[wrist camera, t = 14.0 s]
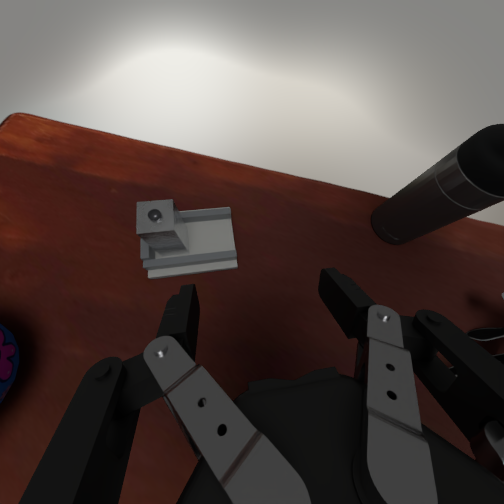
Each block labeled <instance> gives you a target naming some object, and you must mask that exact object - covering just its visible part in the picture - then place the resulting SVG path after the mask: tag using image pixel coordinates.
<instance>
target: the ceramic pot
mask: <svg viewBox="0 0 504 504" xmlns="http://www.w3.org/2000/svg"><path fill="white" fill-rule="evenodd" d="M18 365H19V348H18V345H17V343H16V341H15V338H14V336H13V334H12V333H11V332H10V331H9V330H8V329H6V328H5V327H4V326H3V325H2V324H1V323H0V404H1V402H2V401H3V399H4V397H5V395H6V394H7V392H8V390H9V389H10V387H11V385H12V383H13V382H14V380H15V377H16V373H17V369H18Z"/></svg>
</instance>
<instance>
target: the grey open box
mask: <svg viewBox="0 0 504 504" xmlns="http://www.w3.org/2000/svg"><path fill="white" fill-rule="evenodd" d="M179 213H180V215H181V217H182V219H183V221H184V223H185V225H186V227H187V229H188V238H189V252H190V253H189V254H181V255H172V256H164V257H162V256H161V255H160V254H159V253H158V252H156V251H155V250H154V249H153V248H152V247H151V246H150V245H149V244H147V243H146V242H145V241H144V240H143V239H142V238H141V259H142V260H143V268H145V269H146V270H148V278H149V279H157V278H165V277H173V276H181V275H189V274H197V273H205V272H212V271H220V270H228V269H236V268H237V254H236V250H235V244H234V237H233V230H232V222H231V210H230V207H226V208H214V209H202V210H190V211H179Z"/></svg>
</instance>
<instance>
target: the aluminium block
mask: <svg viewBox="0 0 504 504" xmlns="http://www.w3.org/2000/svg"><path fill="white" fill-rule="evenodd" d="M137 235H138V236H139V237H141V238H142V239H143V240H144V241H145V242H146V243H147V244H149V245H150V246H151V247H152V248H153V249H154V250H155V251H156V252H158V253H159V254H160V255H161V256H162V257H164V256H172V255H181V254H189V253H190V252H189V238H188V229H187V227H186V225H185V223H184V221H183V219H182V217H181V215H180V213H179V211H178V209H177V207H176V205H175V203H174V201H173V199H171V200H158V201H146V202H137Z"/></svg>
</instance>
